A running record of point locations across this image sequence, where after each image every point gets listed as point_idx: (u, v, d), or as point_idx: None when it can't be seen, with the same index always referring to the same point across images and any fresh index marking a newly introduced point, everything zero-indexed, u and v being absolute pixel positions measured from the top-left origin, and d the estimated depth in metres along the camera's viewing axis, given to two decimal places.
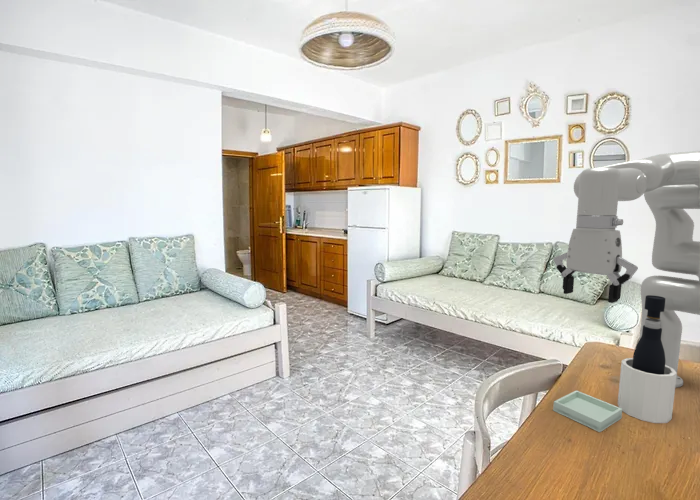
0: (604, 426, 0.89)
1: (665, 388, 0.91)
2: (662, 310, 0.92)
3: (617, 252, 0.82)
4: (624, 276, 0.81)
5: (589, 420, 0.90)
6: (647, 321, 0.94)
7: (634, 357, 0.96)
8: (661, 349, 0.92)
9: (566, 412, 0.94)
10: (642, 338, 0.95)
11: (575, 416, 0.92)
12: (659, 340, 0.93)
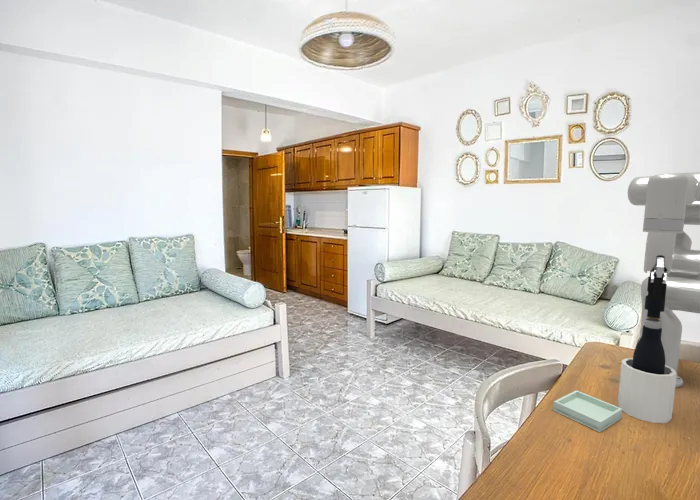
0: (604, 426, 0.89)
1: (665, 388, 0.91)
2: (662, 310, 0.92)
3: None
4: None
5: (589, 420, 0.90)
6: (647, 321, 0.94)
7: (634, 357, 0.96)
8: (661, 349, 0.92)
9: (566, 412, 0.94)
10: (642, 338, 0.95)
11: (575, 416, 0.92)
12: (659, 340, 0.93)
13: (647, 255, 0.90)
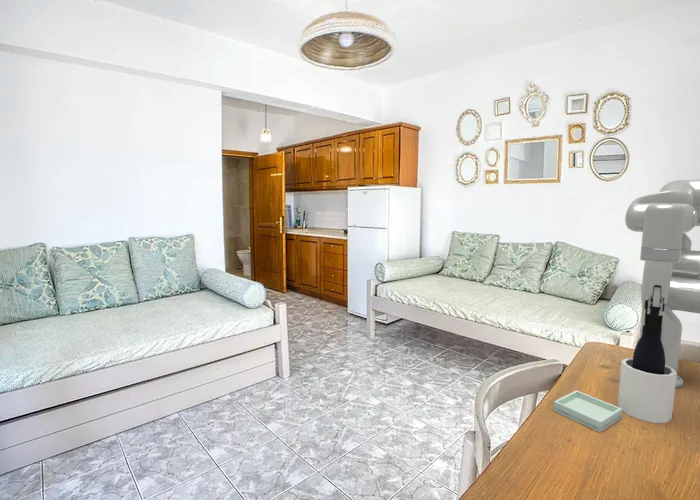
0: (604, 426, 0.89)
1: (665, 388, 0.91)
2: (662, 310, 0.92)
3: None
4: None
5: (589, 420, 0.90)
6: None
7: (634, 357, 0.96)
8: (661, 349, 0.92)
9: (566, 412, 0.94)
10: (642, 338, 0.95)
11: (575, 416, 0.92)
12: (659, 340, 0.93)
13: (644, 284, 0.91)
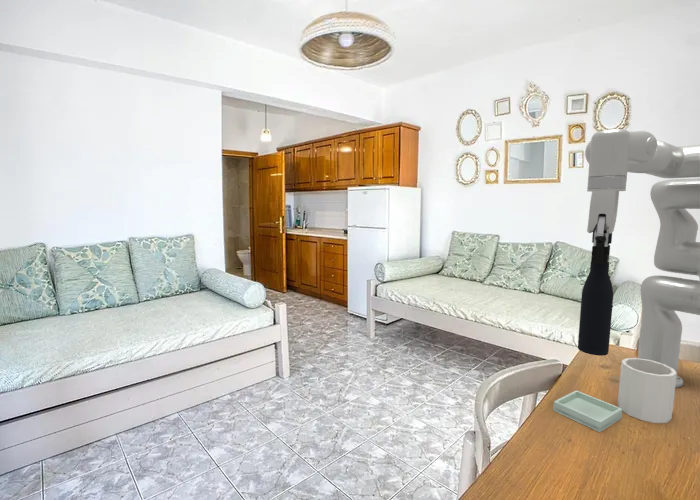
0: (604, 426, 0.89)
1: (665, 388, 0.91)
2: (609, 242, 0.88)
3: None
4: None
5: (589, 420, 0.90)
6: None
7: (582, 294, 0.92)
8: (608, 283, 0.89)
9: (566, 412, 0.94)
10: (590, 273, 0.91)
11: (575, 416, 0.92)
12: (606, 274, 0.89)
13: (589, 214, 0.87)
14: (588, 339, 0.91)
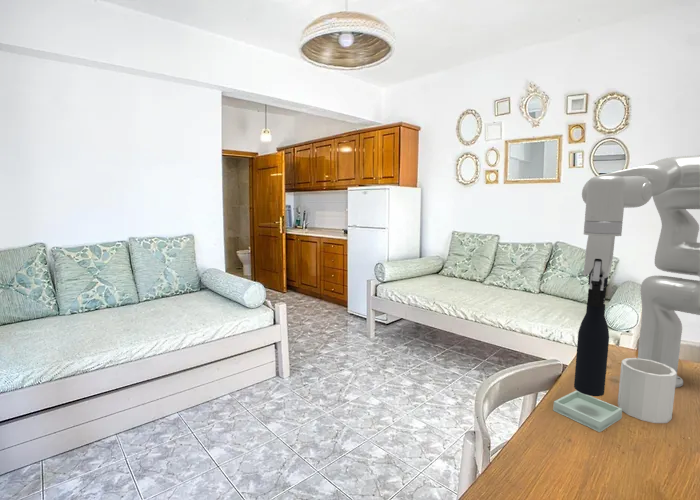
0: (604, 426, 0.89)
1: (665, 388, 0.91)
2: (605, 285, 0.89)
3: None
4: None
5: (589, 420, 0.90)
6: None
7: (578, 334, 0.94)
8: (604, 325, 0.90)
9: (566, 412, 0.94)
10: (586, 315, 0.92)
11: (575, 416, 0.92)
12: (602, 316, 0.90)
13: (586, 258, 0.88)
14: (584, 380, 0.92)
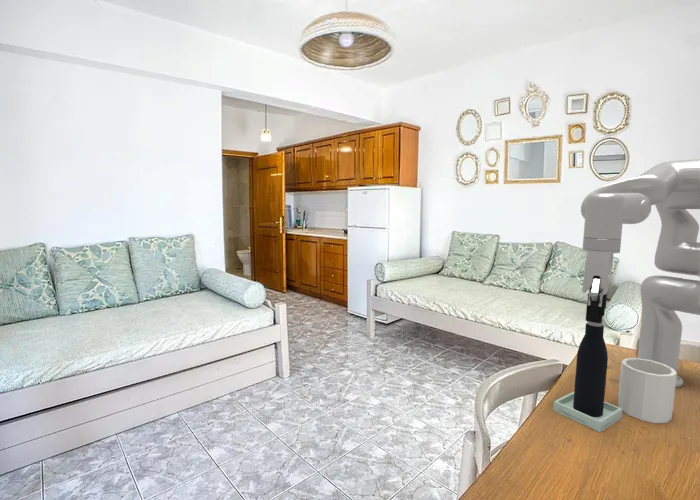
0: (604, 426, 0.89)
1: (665, 388, 0.91)
2: (603, 307, 0.90)
3: None
4: None
5: (589, 420, 0.90)
6: None
7: (577, 355, 0.94)
8: (603, 347, 0.91)
9: (566, 412, 0.94)
10: (585, 336, 0.93)
11: (575, 416, 0.92)
12: (601, 338, 0.91)
13: (584, 275, 0.89)
14: (583, 401, 0.93)
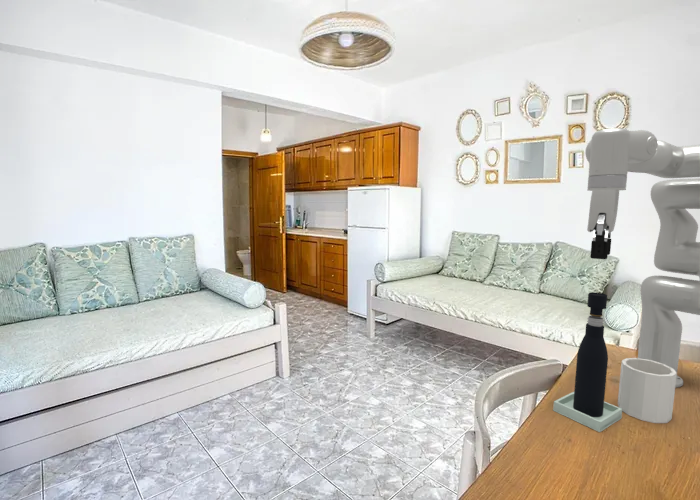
0: (604, 426, 0.89)
1: (665, 388, 0.91)
2: (603, 307, 0.90)
3: None
4: None
5: (589, 420, 0.90)
6: (589, 319, 0.92)
7: (578, 355, 0.94)
8: (603, 347, 0.91)
9: (566, 412, 0.94)
10: (585, 336, 0.93)
11: (575, 416, 0.92)
12: (601, 338, 0.91)
13: (590, 213, 0.87)
14: (583, 401, 0.93)
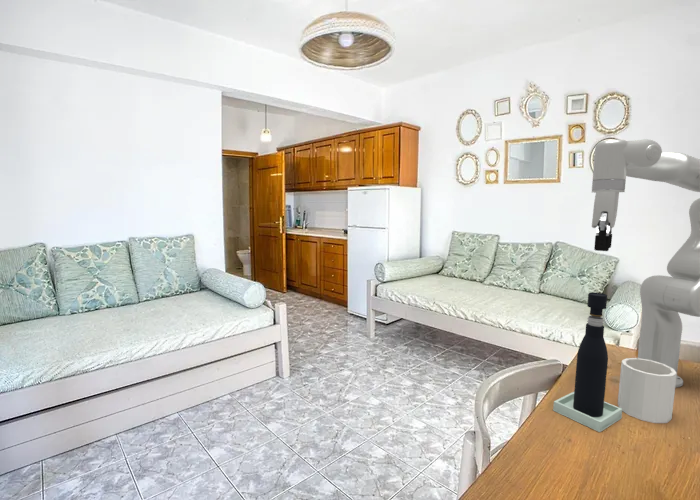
0: (604, 426, 0.89)
1: (665, 388, 0.91)
2: (603, 307, 0.90)
3: None
4: None
5: (589, 420, 0.90)
6: (589, 319, 0.92)
7: (578, 355, 0.94)
8: (603, 347, 0.91)
9: (566, 412, 0.94)
10: (585, 336, 0.93)
11: (575, 416, 0.92)
12: (601, 338, 0.91)
13: (593, 212, 1.02)
14: (583, 401, 0.93)
